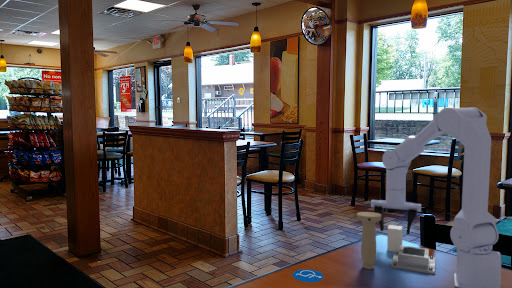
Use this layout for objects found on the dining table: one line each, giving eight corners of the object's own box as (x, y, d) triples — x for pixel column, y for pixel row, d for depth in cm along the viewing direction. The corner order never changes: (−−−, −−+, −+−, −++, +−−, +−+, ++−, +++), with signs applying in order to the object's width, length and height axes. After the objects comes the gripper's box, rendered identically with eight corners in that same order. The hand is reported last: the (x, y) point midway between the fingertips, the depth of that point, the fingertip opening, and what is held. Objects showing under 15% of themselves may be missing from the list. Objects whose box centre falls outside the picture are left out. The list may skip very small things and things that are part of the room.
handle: (381, 272, 102) (382, 217, 101) (356, 270, 104) (356, 215, 103) (380, 265, 107) (380, 212, 106) (356, 263, 109) (356, 211, 107)
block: (402, 248, 120) (402, 226, 120) (401, 252, 117) (401, 229, 116) (388, 246, 122) (389, 224, 122) (387, 250, 119) (387, 228, 118)
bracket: (435, 259, 111) (435, 247, 110) (434, 274, 101) (435, 261, 100) (394, 254, 115) (395, 242, 115) (390, 267, 105) (390, 255, 105)
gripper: (422, 188, 118) (420, 230, 120) (373, 184, 125) (372, 225, 126) (420, 192, 112) (419, 237, 113) (370, 188, 118) (369, 231, 120)
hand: (394, 231), depth 119 cm, fingers open, 7 cm apart
